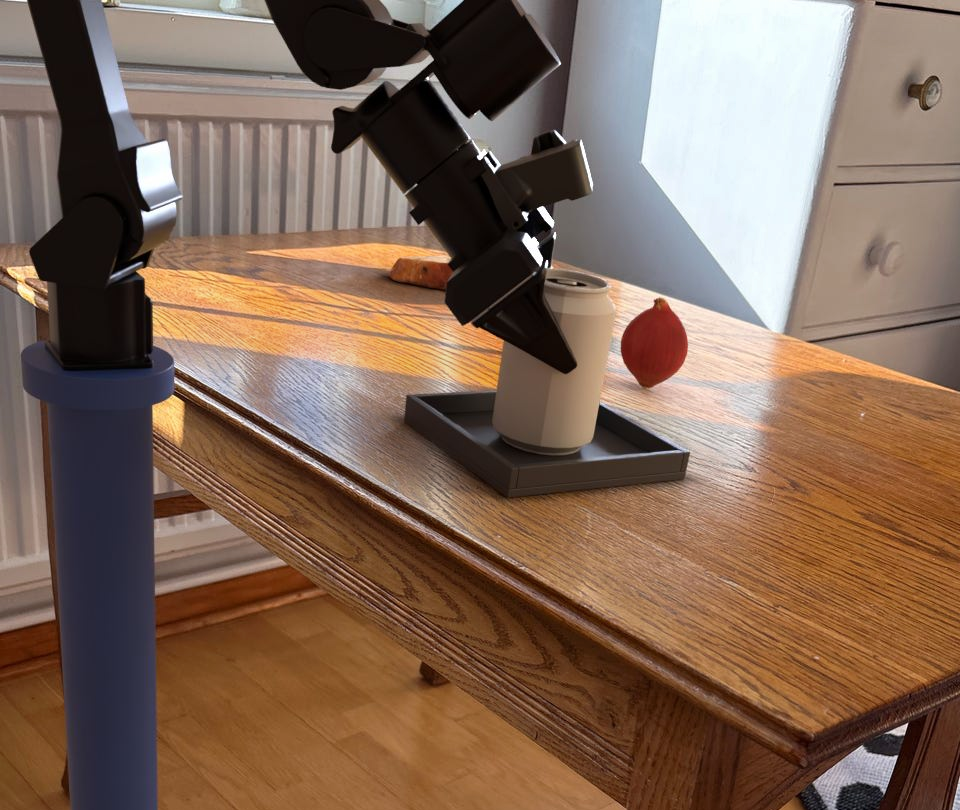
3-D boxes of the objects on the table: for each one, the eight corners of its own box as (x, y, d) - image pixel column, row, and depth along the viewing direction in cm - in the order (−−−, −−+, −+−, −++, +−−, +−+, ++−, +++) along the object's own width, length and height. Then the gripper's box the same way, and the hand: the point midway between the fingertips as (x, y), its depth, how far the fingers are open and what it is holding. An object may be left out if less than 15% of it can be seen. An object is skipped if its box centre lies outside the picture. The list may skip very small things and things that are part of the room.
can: (591, 432, 89) (620, 273, 84) (590, 466, 83) (622, 295, 77) (494, 417, 90) (517, 257, 84) (486, 449, 83) (510, 278, 77)
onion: (641, 374, 108) (658, 287, 104) (691, 393, 105) (710, 303, 101) (601, 382, 104) (617, 291, 101) (651, 401, 101) (670, 308, 97)
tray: (507, 498, 77) (511, 468, 76) (403, 421, 88) (406, 394, 87) (684, 479, 85) (690, 451, 84) (568, 410, 96) (572, 385, 95)
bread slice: (375, 274, 131) (378, 240, 130) (488, 266, 143) (492, 234, 141) (487, 315, 121) (492, 279, 119) (599, 303, 133) (604, 269, 131)
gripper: (524, 95, 67) (676, 317, 72) (542, 79, 83) (665, 261, 88) (377, 218, 71) (530, 420, 76) (422, 180, 87) (546, 348, 92)
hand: (573, 355), depth 83 cm, fingers closed on can, 7 cm apart
